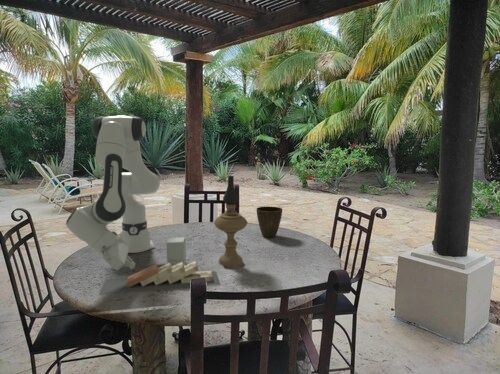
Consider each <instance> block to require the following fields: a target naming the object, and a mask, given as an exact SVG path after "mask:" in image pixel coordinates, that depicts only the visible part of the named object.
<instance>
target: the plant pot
mask: <svg viewBox="0 0 500 374" xmlns="http://www.w3.org/2000/svg"><path fill="white" fill-rule="evenodd" d="M255 209H256V217H257V221H258V226H259V229H260V230H259V231H260V232H261V236H262V237H264V238H269V239H271V238H275V237H276V236H277V233H278V231H279V228H280V224H281V221H282V215H283V208H282V207H277V206H260V207H256V208H255Z"/></svg>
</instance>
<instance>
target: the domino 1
mask: <svg viewBox="0 0 500 374" xmlns="http://www.w3.org/2000/svg"><path fill="white" fill-rule="evenodd" d="M158 270H159V266H158V264H157V263H154V264H152V265H150V266H148V267H146V268H144V269H141V270H140V271H137V272H136V273H133V274H131V275H129V276H127V277H126V278H127V281H126V284H127V286H128V288H129V287H131V286H133V285H135V284H137V283H139V282H141V281H143V280H146V279H148V278H150V277H152V276H154V275H156V274H158Z"/></svg>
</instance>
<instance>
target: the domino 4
mask: <svg viewBox="0 0 500 374" xmlns="http://www.w3.org/2000/svg"><path fill="white" fill-rule="evenodd" d="M184 268H185V272H183V273H181V274H179V275H177V276H175V277H173V278H170V279H168V281H169V283H170V284H171V283H173V282H176V281H178V280H180V279H182V278H184V277H186V276H188V275H190V274H192V273H194V272H199V266H198V263H197V261H196V260H193V261H191V262H190V263H188V264H187V263H186V265H185V266H184Z"/></svg>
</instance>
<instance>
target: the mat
mask: <svg viewBox="0 0 500 374" xmlns="http://www.w3.org/2000/svg"><path fill="white" fill-rule="evenodd" d="M211 273H212V281H207V286H206V287H209V286H221V282H220V279H219V277H218V274H217V271H216V270H215V271H214V270H213V271H211ZM127 278H128V277H120V278H105V280H104V282H103V284H102V287H101V289H100V291H99V293H98V295H111V294H112V295H113V294H123V293H135V292H136V293H137V292H145V291H147V292H148V291H160V290H161V291H162V290H172V289H173V290H174V289H186V288H191V287H190V283H181V279H180V280H178V281H176V282H173V283H171V284H170V283H169V281H168V280H166V281H164V282H162V283H160V284H158V285H155V283H154V281H153V282H151V283H149V284H147V285H145V286H142V285H141V283H140V282H139V283H137V284H135V285H133V286H131V287H129V288H128V286H127V284H126V281H127Z"/></svg>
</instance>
